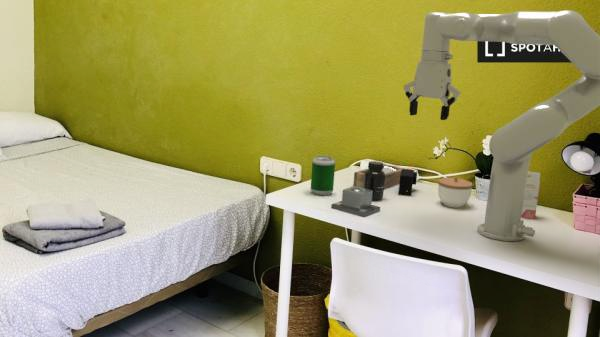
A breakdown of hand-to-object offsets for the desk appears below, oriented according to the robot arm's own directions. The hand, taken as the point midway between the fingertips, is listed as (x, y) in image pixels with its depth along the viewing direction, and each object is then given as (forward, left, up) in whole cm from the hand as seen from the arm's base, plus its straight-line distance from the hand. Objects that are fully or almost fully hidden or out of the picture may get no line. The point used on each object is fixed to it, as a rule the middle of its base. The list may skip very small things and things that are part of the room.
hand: (428, 117), depth 174 cm
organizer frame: (+28, -25, -30) cm, 48 cm away
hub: (+17, +8, -29) cm, 35 cm away
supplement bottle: (+20, -7, -31) cm, 37 cm away
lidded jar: (-2, -21, -31) cm, 37 cm away
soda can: (+35, +1, -31) cm, 46 cm away
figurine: (+27, -27, -31) cm, 49 cm away
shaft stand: (+17, +8, -30) cm, 36 cm away
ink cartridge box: (-22, -27, -31) cm, 46 cm away
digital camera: (+16, -23, -31) cm, 42 cm away
